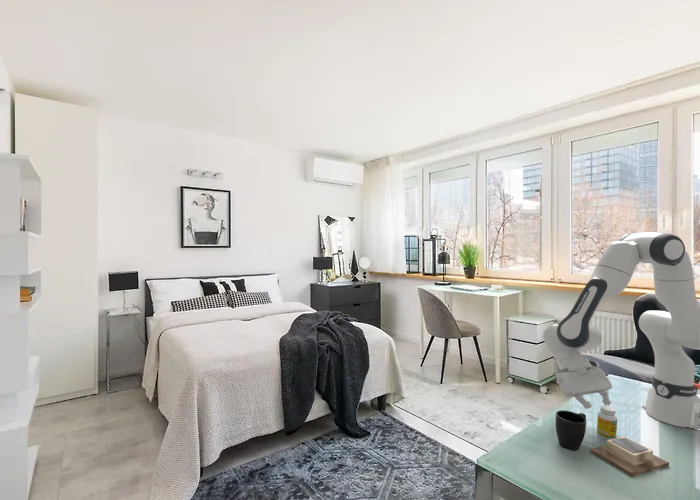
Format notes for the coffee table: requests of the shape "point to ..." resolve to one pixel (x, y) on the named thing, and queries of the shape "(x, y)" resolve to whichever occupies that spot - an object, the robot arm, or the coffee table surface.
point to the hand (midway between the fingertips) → (598, 406)
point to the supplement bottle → (607, 423)
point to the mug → (570, 429)
